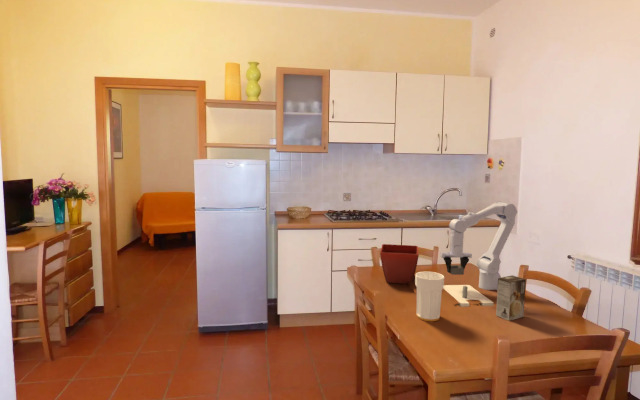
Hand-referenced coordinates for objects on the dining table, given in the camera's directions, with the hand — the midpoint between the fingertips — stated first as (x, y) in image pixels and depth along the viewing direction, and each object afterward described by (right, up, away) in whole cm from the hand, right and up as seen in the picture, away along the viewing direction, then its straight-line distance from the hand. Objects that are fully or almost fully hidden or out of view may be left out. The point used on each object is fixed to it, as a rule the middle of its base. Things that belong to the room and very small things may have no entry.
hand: (455, 272), depth 188 cm
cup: (-21, -13, -28) cm, 38 cm away
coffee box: (+13, -13, -27) cm, 33 cm away
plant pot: (-23, -8, +19) cm, 31 cm away
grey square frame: (0, 0, 0) cm, 0 cm away
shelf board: (+3, -11, -5) cm, 12 cm away
